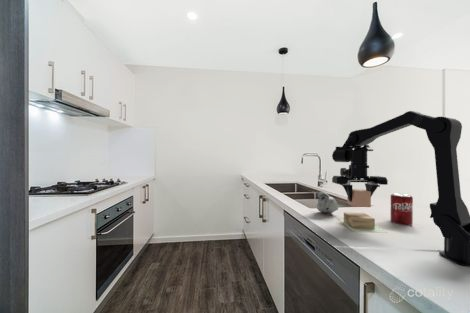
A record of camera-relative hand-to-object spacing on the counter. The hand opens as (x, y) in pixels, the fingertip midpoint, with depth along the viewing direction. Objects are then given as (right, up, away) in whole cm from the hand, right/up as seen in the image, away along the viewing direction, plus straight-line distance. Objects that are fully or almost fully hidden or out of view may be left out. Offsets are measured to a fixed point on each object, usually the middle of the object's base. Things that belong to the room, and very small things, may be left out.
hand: (358, 201), depth 83 cm
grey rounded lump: (-6, -10, +16) cm, 20 cm away
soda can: (+20, -10, +4) cm, 23 cm away
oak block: (0, -10, 0) cm, 10 cm away
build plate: (+1, -10, +1) cm, 10 cm away
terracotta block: (0, -2, 0) cm, 2 cm away
